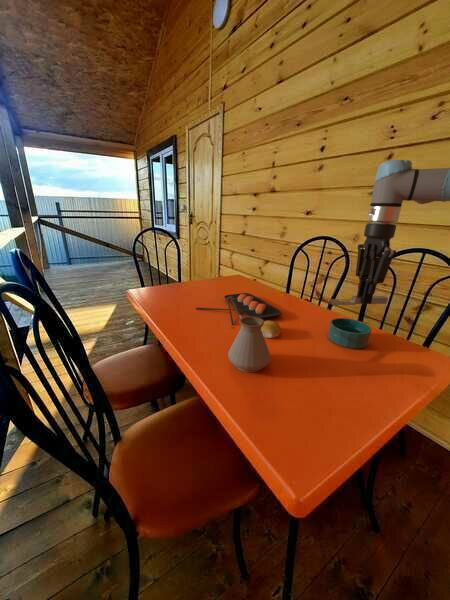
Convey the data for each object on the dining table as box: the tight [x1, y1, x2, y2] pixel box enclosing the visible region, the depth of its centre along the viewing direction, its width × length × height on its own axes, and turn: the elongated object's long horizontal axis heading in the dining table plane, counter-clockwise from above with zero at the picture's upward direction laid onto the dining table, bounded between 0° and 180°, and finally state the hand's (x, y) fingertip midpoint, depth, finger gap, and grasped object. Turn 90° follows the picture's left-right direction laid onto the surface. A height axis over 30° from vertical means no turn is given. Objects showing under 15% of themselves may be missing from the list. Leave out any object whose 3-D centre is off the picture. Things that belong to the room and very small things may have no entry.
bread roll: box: [261, 320, 282, 339], centre depth 87 cm, size 8×9×4 cm
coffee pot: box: [226, 296, 271, 373], centre depth 71 cm, size 21×12×15 cm, turn 20°
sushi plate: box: [195, 292, 283, 326], centre depth 107 cm, size 29×30×4 cm
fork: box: [326, 295, 389, 306], centre depth 79 cm, size 19×3×2 cm, turn 98°
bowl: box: [327, 317, 372, 350], centre depth 84 cm, size 12×12×6 cm
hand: (363, 301), depth 79 cm, fingers closed on fork, 2 cm apart
